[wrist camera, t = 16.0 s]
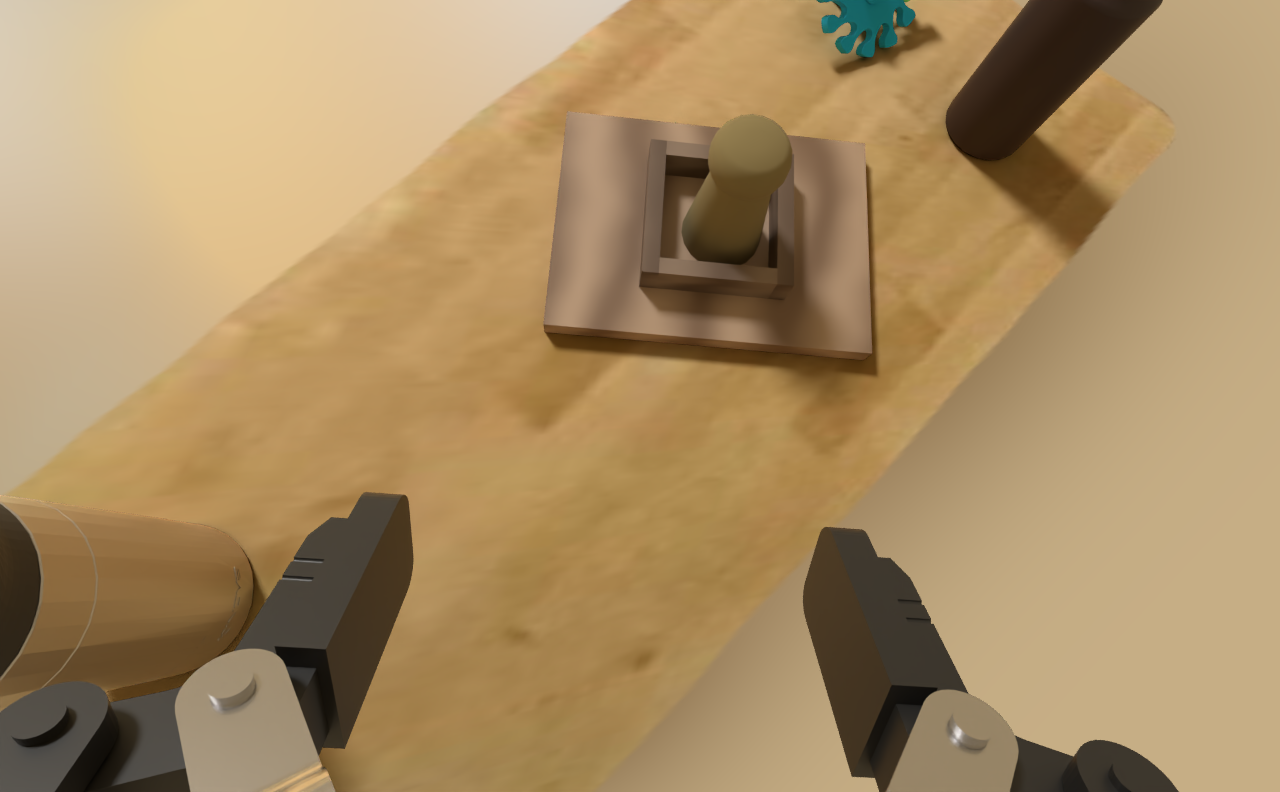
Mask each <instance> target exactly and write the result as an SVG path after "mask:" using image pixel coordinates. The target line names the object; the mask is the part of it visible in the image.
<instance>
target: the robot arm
mask: <svg viewBox="0 0 1280 792" xmlns="http://www.w3.org/2000/svg"><path fill="white" fill-rule="evenodd" d="M412 570H413V546H412V535H411V523H410V512H409V502H408V498H407V496H406V495H398V494H384V493H371V492H365V493H363V494H362V495H361V497H360V498H359V500H358V502H357V504H356V505H355V507H354V509H353V511H352V512H351V514H350V516H349V517H348V519H347V518H333V517H331V518H330V519H329V520H327V521H326V522H325V523H323V524H322V525H321V526H319V527H318V528H317V529H316V530H314V531H313V532H312V533H310V534H309V535H308V536H307V538H306V539H305V541H304V542H303V544H302V545H301V547H300V549H299V550H298V552H297V553H296V555H295V556H294V561H293V562H291V563H290V564H289V566H288V567H287V569H286V571H285V572H284V574H283V577H282V580H279V582H278V583H277V585H276V586H275V588H274V589H273V591H272V593H271V594H270V596H269V597H268V599H267V600H266V602H265V604H264V605H263V607H262V608H261V610H260V611H259V613H258V615H257V616H256V618H255V619H254V621H253V622H252V624H251V626H250V627H249V629H248V630H247V632H246V633H245V635H244V637H243V638H242V640H241V641H240V643H239V644H238V646H237V647H236V649H235V650H234V651H233V652H230V653H227V654H224V655H221V656H219V657H217V656H218V655H219V654H220V653H222V652H223V651H224V650H225V649H226V648H227V647H228V646H229V645H230V644H231V642H232V641H233V640H234V639H235V637H236V636H237V635H238V634H239V632H240V630H241V628H242V626H243V625H244V623H245V621H246V619H247V616H248V613H249V610H250V607H251V604H252V597H253V588H254V585H253V576H252V570H251V567H250V564H249V561H248V558H247V557H246V555H245V553H244V552H243V550H242V549H241V547H240V546H239V545H238V544H237V543H236V542H235V541H234V540H233V539H232V538H231V537H230V536H228V535H227V534H225V533H223V532H221V531H219V530H218V529H215V528H212V527H208V526H205V525H201V524H194V523H187V522H180V521H174V520H168V519H162V518H155V517H148V516H142V515H135V514H128V513H121V512H115V511H108V510H101V509H94V508H87V507H81V506H74V505H67V504H60V503H53V502H47V501H40V500H33V499H26V498H20V497H10V496H4V495H0V792H335V789H334V787H333V784H332V781H331V779H330V776H329V774H328V772H327V770H326V768H325V767H322V764H321V762H320V759H319V757H318V756H319V754H320V752H321V749H322V747H323V748H343V749H345V747H346V744H347V742H348V739H349V737H350V734H351V731H352V729H353V726H354V724H355V721H356V719H357V716H358V714H359V711H360V709H361V706H362V704H363V701H364V699H365V696H366V694H367V691H368V689H369V686H370V684H371V681H372V679H373V676H374V674H375V671H376V669H377V666H378V664H379V661H380V659H381V656H382V654H383V651H384V649H385V646H386V643H387V641H388V638H389V636H390V633H391V631H392V628H393V626H394V623H395V621H396V618H397V616H398V613H399V611H400V608H401V606H402V603H403V601H404V598H405V596H406V593H407V591H408V588H409V585H410V581H411V576H412ZM921 602H922V601H921V599H920V596H919V594H918V593H917V590H916V588H915V587H914V585H913V582H912V581H911V579H910V577H908V575H907V574H906V573H904V572H903V571H902V569H901V568H899V567H898V565H897V564H895V562H893V561H892V560H891V558H881V557H877V554H876V552H875V550H874V548H873V546H872V544H871V542H870V539H869V537H868V535H867V534H866V532H865V531H864V530H860V529H846V528H833V527H824V528H823V529H822V530H821V532H820V535H819V538H818V541H817V545H816V548H815V551H814V555H813V558H812V561H811V564H810V568H809V571H808V575H807V578H806V581H805V585H804V592H803V606H804V614H805V618H806V622H807V625H808V628H809V632H810V635H811V639H812V642H813V645H814V649H815V652H816V656H817V659H818V663H819V666H820V669H821V673H822V676H823V680H824V683H825V686H826V690H827V693H828V697H829V700H830V703H831V707H832V710H833V714H834V717H835V721H836V724H837V727H838V731H839V734H840V738H841V741H842V744H843V748H844V751H845V755H846V758H847V762H848V765H849V768H850V772H851V775H852V777H869V778H875V779H876V782H877V786H878V789H879V792H1178V790H1177V789H1176V788H1175V786H1174V785H1173V783H1172V782H1171V781H1170V780H1169V779H1168V778H1167V777H1166V775H1165V774H1164V773H1163V772H1162V771H1161V770H1159V769H1158V768H1157V767H1156V766H1155V765H1154V764H1152V763H1151V762H1150V761H1149V760H1147V759H1146V758H1144V757H1143V756H1141V755H1140V754H1138V753H1137V752H1135V751H1133V750H1131V749H1129V748H1127V747H1125V746H1122V745H1120V744H1117V743H1113V742H1110V741H1105V740H1093V741H1089V742H1087V743H1084V744H1083V745H1082V746H1081V747H1080V748H1079V750H1078V751H1077V753H1076V754H1075V756H1074V757H1073V756H1070V755H1067V754H1064V753H1062V752H1059V751H1056V750H1052V749H1050V748H1047V747H1044V746H1041V745H1038V744H1035V743H1032V742H1030V741H1026V740H1024V739H1021V738H1019V737H1017V736H1015V735H1014V733H1013V732H1012V729H1011V728H1010V726H1009V725H1008V724H1007V722H1006V721H1005V720H1004V719H1003V717H1002V716H1001V715H1000V714H999V713H998V712H997V711H996V710H994V709H993V708H992V707H991V706H989V705H988V704H986V703H985V702H983V701H982V700H980V699H978V698H977V697H974V696H972V695H970V694H968V692H967V690H966V688H965V686H964V684H963V682H962V680H961V678H960V676H959V674H958V672H957V670H956V668H955V666H954V664H953V662H952V660H951V658H950V656H949V654H948V652H947V650H946V648H945V646H944V644H943V642H942V640H941V638H940V636H939V634H938V632H937V630H936V628H935V626H934V624H931V618H930V616H929V614H928V612H927V610H926V608H925V606H924V605H922V604H921ZM216 657H217V658H216ZM201 666H202V667H201ZM200 667H201V668H200ZM198 668H199V669H198ZM195 669H198V670H197V671H196V672H194V673H193V674H192V675H191V676H190V677H189V678H188V680H187V681H186V682H185V683H184V684H183V686H181V687H179V688H175V689H172V690H168V691H163V692H159V693H154V694H149V695H144V696H139V697H135V698H130V699H125V700H120V701H115V702H111V703H110V702H109V700H108V697H107V695H106V693H105V691H109V690H113V689H118V688H122V687H126V686H131V685H136V684H141V683H145V682H150V681H154V680H158V679H163V678H167V677H171V676H176V675H180V674H184V673H186V672H189V671H192V670H195Z"/></svg>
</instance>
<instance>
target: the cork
mask: <svg viewBox="0 0 1280 792" xmlns="http://www.w3.org/2000/svg"><path fill="white" fill-rule="evenodd" d="M791 163H792V147H791V144H790V140H789V138H788V136H787V135H786V133H785V132H784V130H783V129H782V127H780V126H779V125H778V124H777V123H776V122H774V121H773V120H771V119H769V118H766V117H764V116H760V115H754V114H750V115H741V116H739V117H737V118H734V119H732V120H730V121H727V122H726V123H725V124H724V125H723V126H722V127H721V128H720V129H719V130H718V131H717V133H716V134H715V136H714V138H713V140H712V142H711V144H710V148H709V155H708V165H709V170H710V172H709V174H708V175H707V177H706V179H705V181H704V183H703V185H702V186H701V188H700V190H699V192H698V194H697V196H696V197H695V199H694V201H693V203H692V205H691V207H690V208H689V210H688V212H687V214H686V216H685V218H684V220H683V223H682V231H681V233H682V237H683V242H684V245H685V246H686V248H687V250H688V251H689V253H690V254H691V255H692V256H693V257H694V258H695V259H697V260H698V261H703V262H713V263H724V264H734V265H742V264H744V263H746V262H747V261H748V260H749V259H750V258H751V257H752V256H753V255H754V254H755V252H756V250H757V248H758V246H759V243H760V238H761V234H762V230H763V226H764V222H765V218H766V214H767V210H768V205H769V201H770V197H771V194H772V193H773V192H775V191H776V190H777V189H778V188H779V187H780V186H781V185H782V184H783V183H784V181H785V179H786V177H787V175H788V173H789V171H790V169H791Z"/></svg>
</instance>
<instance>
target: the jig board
mask: <svg viewBox="0 0 1280 792" xmlns="http://www.w3.org/2000/svg"><path fill="white" fill-rule="evenodd" d="M719 129H720V128H716V127H707V126H698V125H689V124H679V123H670V122H661V121H651V120H642V119H633V118H624V117H614V116H605V115H596V114H586V113H577V112H568V111H567V118H566V127H565V136H564V145H563V154H562V163H561V172H560V181H559V190H558V199H557V207H556V216H555V225H554V234H553V243H552V252H551V261H550V270H549V279H548V288H547V297H546V306H545V315H544V324H543V325H544V331H545V332H551V333H562V334H573V335H585V336H596V337H607V338H619V339H630V340H641V341H653V342H664V343H675V344H687V345H698V346H709V347H721V348H732V349H743V350H755V351H766V352H777V353H789V354H800V355H811V356H823V357H834V358H845V359H857V360H865V359H866V358H867V357H868V356H870V355H871V354H872V334H871V305H870V276H869V247H868V218H867V189H866V160H865V143H856V142H846V141H837V140H828V139H819V138H809V137H800V136H791V135H787V136H788V138H789V140H790V144H791V147H792V163H791V169H790V171H789V173H788V175H787V177H786V179H785V181H784V183H783V184H782V185H781V186H780V187H779V188H778V189H777V190H776V191H775V192H773V193H772V194H771V197H770V201H769V205H768V210H767V214H766V218H765V222H764V226H763V230H762V234H761V238H760V243H759V246H758V248H757V250H756V252H755V254H754V255H753V256H752V257H751V258H750V259H749V260H748V261H747V262H746V263H744V264H742V265H734V264H724V263H713V262H703V261H698V260H697V259H695V258H694V257H693V256H692V255H691V254H690V253H689V251H688V250H687V248H686V246H685V245H684V242H683V237H682V233H681V231H682V223H683V220H684V218H685V216H686V214H687V212H688V210H689V208H690V207H691V205H692V203H693V201H694V199H695V197H696V196H697V194H698V192H699V190H700V188H701V186H702V185H703V183H704V181H705V179H706V177H707V175H708V174H709V172H710V170H709V165H708V155H709V148H710V144H711V142H712V140H713V138H714V136H715V134H716V133H717V131H718V130H719Z"/></svg>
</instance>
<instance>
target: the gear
mask: <svg viewBox="0 0 1280 792" xmlns="http://www.w3.org/2000/svg"><path fill="white" fill-rule="evenodd" d="M817 1H818V2H820V3H822V2H829V1H832V2H834V3H836V4H837V5H839V6H840V8H841V15H840V17H839V18H838V17H837V16H835V15H826V16H824V17H823V18H822V21H821V22H822V30H823V33H833V32H835V31H836V30H837V29H838V28H839V27H840V26H841V25H842V24H844V23H847V22H848V23H850V25H851V32H850V33H849V35H847V36H841V37H839V38H838V39H837V40H836V42H835V45H836V47H837V49H838V50H839V51H840V52H841V53H845V54H847V53H849V52H851V50H852V49H853V46H854V43H855V41H856V39H857V37H858V36H859V35H860V34H861V33H862V32H863V31H864V30H865V31H866V38H865V40H864V41H863V42H862V43H860V44H859V45H858V47H857V50H856V54H857V55H859V56H861V57H872V56H873V55H874V52H875V38H876V35H877V33H878V30H879V28H880V26H881V25H882V26H883V32H882V34H881V36H880V38H879V47H880V48H888V47H891V46H893V45H895V44H897V35H896V34H895V32H894V28H893V14H894V11H895V9H896V10H897V18H896V22H897V25H898V26H900V27H907V26H908V25H909V24H910V23H911V22H912V21H913V19H914V18H915V12H914V11H913V10H912V9H910V8H908V7H907V6H906V5H905V3H904V2H908V1H910V0H817Z"/></svg>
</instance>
